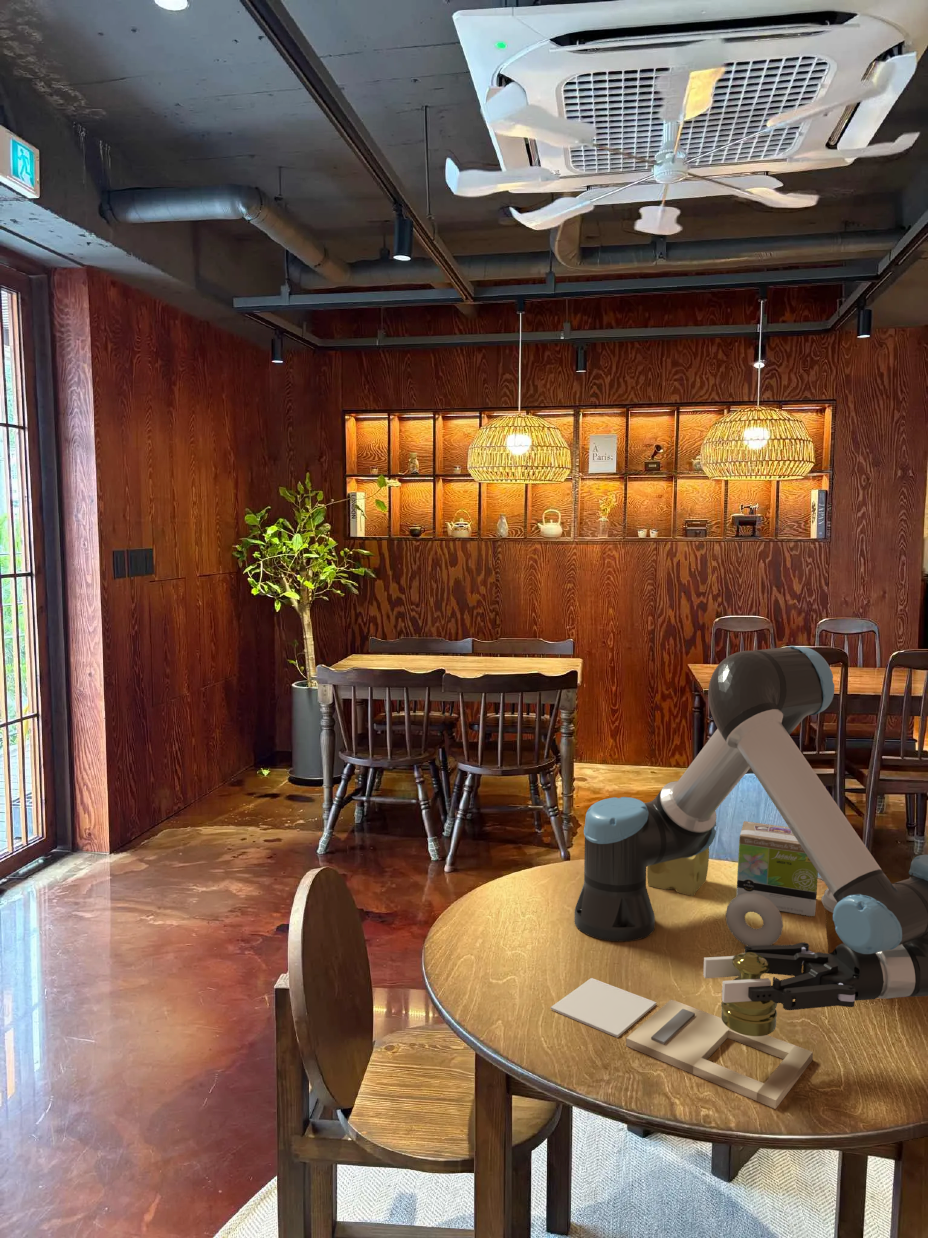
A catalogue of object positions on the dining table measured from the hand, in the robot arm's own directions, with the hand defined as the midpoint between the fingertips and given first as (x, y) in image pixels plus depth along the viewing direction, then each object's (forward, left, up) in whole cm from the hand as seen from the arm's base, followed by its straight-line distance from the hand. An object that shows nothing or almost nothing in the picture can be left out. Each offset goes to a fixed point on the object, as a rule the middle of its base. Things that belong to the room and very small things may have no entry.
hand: (714, 979), depth 122 cm
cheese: (-34, +57, -13) cm, 68 cm away
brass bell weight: (+4, +4, -7) cm, 9 cm away
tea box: (-14, +61, -13) cm, 64 cm away
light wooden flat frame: (-1, +4, -13) cm, 13 cm away
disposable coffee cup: (+5, +44, -13) cm, 46 cm away
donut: (-10, +39, -13) cm, 42 cm away
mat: (-20, +4, -13) cm, 24 cm away
